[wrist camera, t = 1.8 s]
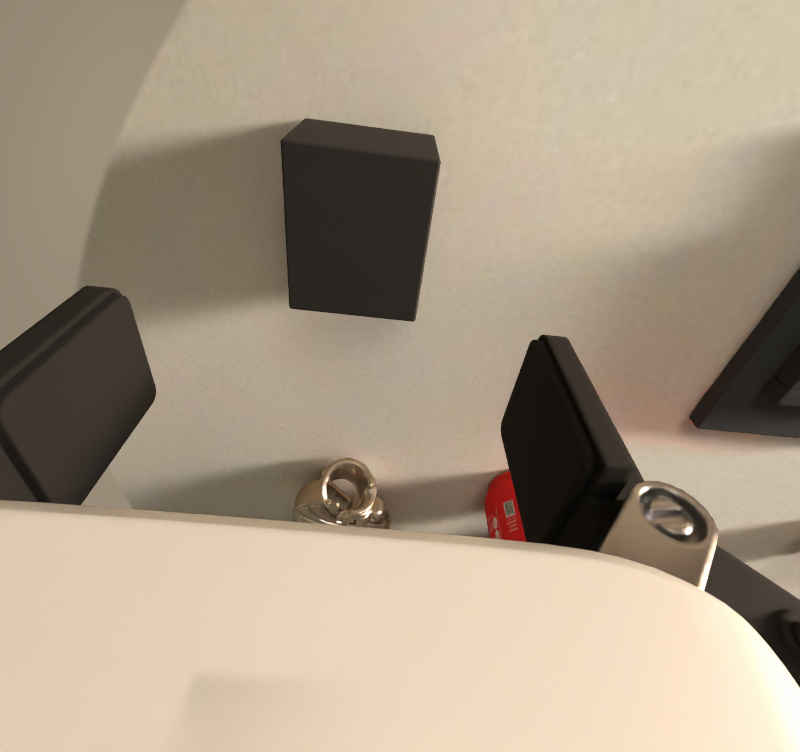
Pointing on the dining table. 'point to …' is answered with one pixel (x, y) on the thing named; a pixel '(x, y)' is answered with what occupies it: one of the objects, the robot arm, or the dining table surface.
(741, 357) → the base pad
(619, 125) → the dining table surface
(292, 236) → the black rectangular block
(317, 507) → the ornament
